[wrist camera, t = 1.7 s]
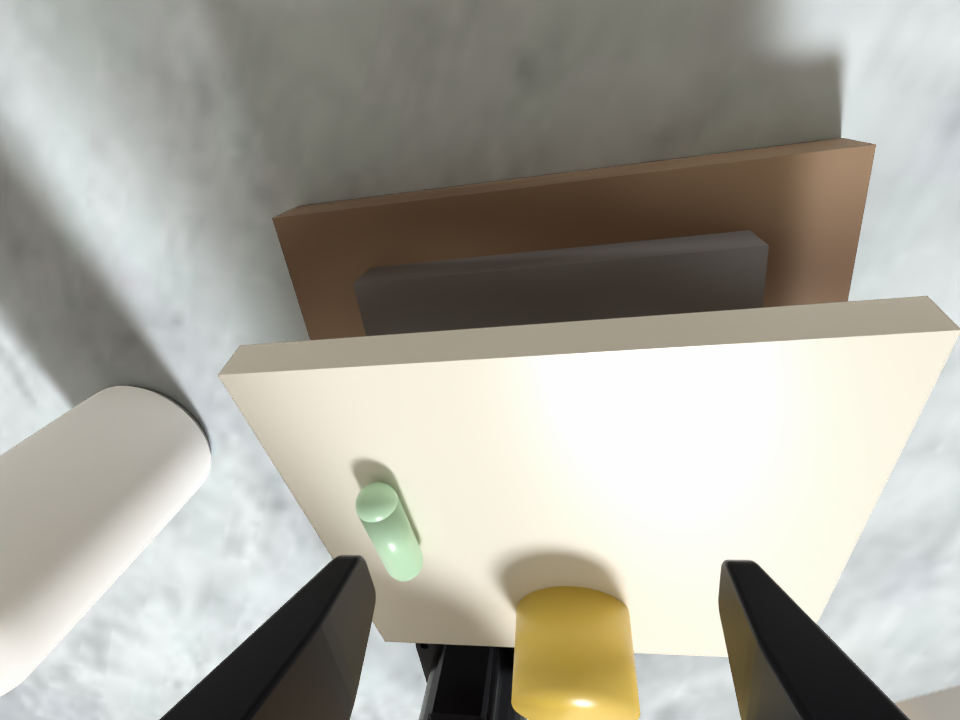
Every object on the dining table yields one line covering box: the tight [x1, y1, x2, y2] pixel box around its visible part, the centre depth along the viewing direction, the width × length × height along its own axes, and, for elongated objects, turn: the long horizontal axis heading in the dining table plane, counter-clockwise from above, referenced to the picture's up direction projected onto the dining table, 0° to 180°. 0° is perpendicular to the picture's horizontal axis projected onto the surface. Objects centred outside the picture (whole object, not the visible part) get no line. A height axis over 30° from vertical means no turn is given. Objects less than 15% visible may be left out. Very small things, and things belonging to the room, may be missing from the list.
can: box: [0, 386, 211, 696], centre depth 21 cm, size 6×6×12 cm
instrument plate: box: [218, 296, 960, 720], centre depth 15 cm, size 15×16×4 cm
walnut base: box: [272, 138, 876, 340], centre depth 20 cm, size 18×18×4 cm
